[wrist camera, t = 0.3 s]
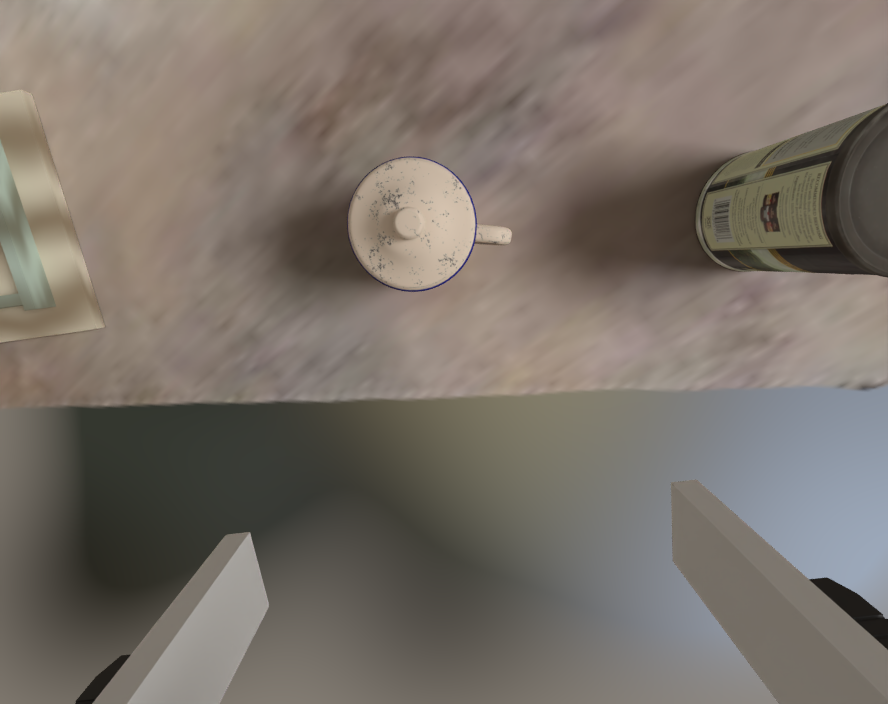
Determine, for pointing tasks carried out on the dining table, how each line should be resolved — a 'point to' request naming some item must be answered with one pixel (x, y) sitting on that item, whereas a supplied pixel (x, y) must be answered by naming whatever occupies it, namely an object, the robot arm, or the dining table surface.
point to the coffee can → (804, 202)
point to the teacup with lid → (415, 224)
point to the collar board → (37, 235)
